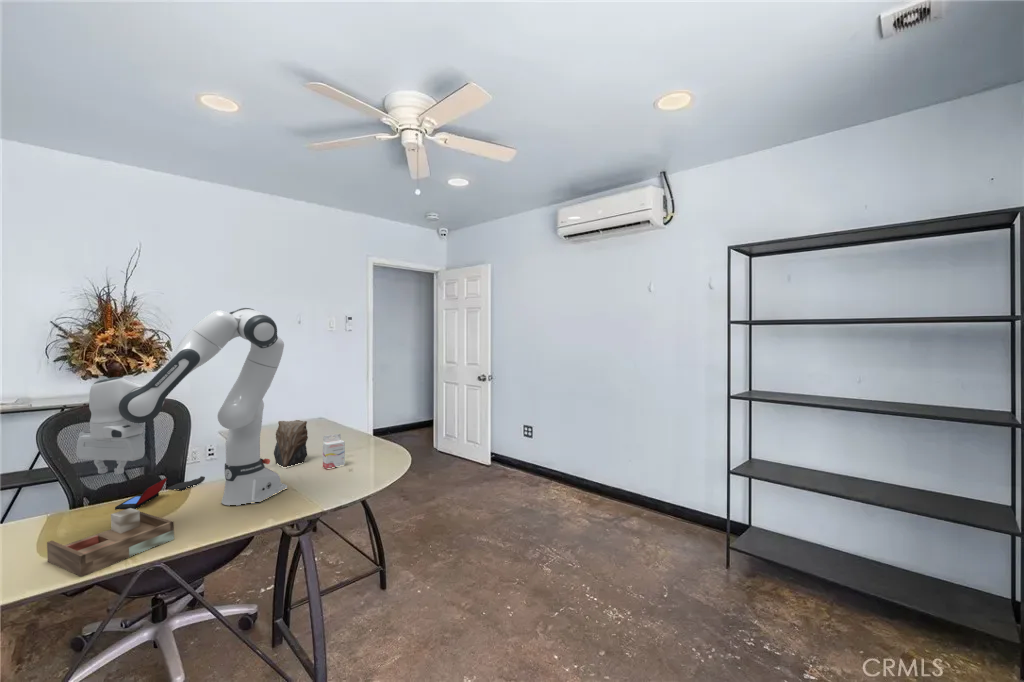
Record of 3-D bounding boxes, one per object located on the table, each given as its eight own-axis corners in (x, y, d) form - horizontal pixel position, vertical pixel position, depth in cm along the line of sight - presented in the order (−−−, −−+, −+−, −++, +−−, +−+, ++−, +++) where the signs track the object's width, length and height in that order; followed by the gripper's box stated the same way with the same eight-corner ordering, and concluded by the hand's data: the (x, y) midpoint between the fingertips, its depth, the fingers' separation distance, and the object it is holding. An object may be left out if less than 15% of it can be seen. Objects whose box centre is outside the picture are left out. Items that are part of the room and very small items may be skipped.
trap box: (140, 528, 143) (140, 511, 143) (174, 539, 136) (173, 521, 136) (47, 561, 123) (47, 542, 123) (81, 576, 116) (80, 556, 116)
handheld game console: (137, 497, 170) (137, 477, 169) (168, 495, 171) (168, 476, 171) (112, 510, 157) (112, 490, 157) (146, 509, 159) (146, 488, 158)
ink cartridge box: (326, 470, 201) (326, 438, 200) (322, 467, 204) (322, 435, 204) (345, 466, 206) (344, 434, 206) (341, 463, 210) (340, 432, 210)
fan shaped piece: (213, 481, 188) (213, 477, 188) (181, 492, 175) (181, 488, 175) (198, 478, 190) (198, 475, 190) (165, 490, 177) (165, 486, 177)
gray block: (130, 523, 140) (130, 507, 140) (140, 526, 138) (139, 510, 138) (111, 530, 136) (110, 514, 135) (120, 533, 134) (119, 517, 133)
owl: (272, 463, 210) (272, 421, 210) (300, 457, 220) (299, 417, 219) (283, 469, 202) (282, 425, 201) (311, 462, 211) (310, 421, 210)
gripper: (68, 431, 137) (70, 475, 137) (129, 432, 135) (130, 477, 135) (90, 426, 143) (91, 468, 143) (148, 428, 141) (149, 471, 141)
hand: (111, 473), depth 139 cm, fingers open, 4 cm apart
